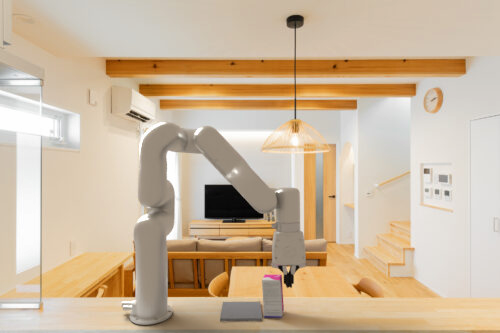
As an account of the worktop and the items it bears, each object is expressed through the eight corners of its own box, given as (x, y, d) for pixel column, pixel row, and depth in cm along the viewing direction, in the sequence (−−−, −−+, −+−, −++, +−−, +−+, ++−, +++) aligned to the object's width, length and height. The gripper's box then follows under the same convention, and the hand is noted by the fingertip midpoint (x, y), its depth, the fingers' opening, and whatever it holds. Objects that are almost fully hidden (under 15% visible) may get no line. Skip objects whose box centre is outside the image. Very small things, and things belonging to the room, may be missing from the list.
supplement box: (283, 318, 93) (279, 280, 93) (263, 318, 94) (260, 280, 95) (284, 310, 99) (281, 273, 99) (266, 309, 100) (263, 274, 100)
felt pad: (220, 321, 92) (220, 318, 92) (222, 304, 104) (222, 301, 104) (262, 321, 92) (262, 318, 93) (259, 303, 104) (260, 301, 104)
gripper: (265, 229, 93) (265, 291, 93) (314, 229, 94) (315, 290, 93) (263, 225, 101) (264, 282, 100) (309, 224, 101) (309, 281, 101)
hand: (288, 286), depth 97 cm, fingers closed
